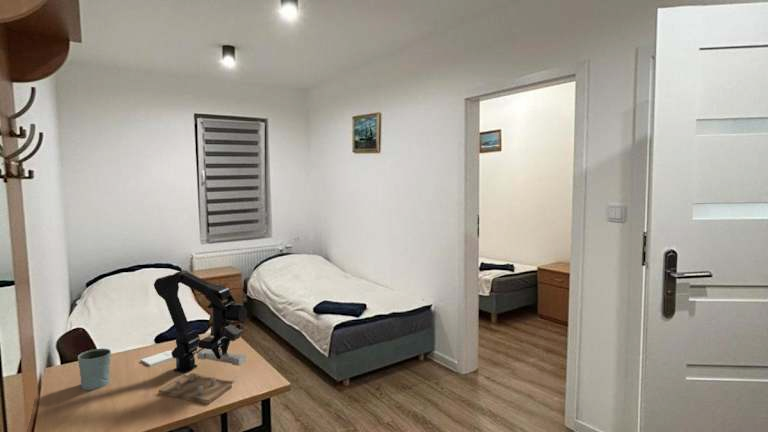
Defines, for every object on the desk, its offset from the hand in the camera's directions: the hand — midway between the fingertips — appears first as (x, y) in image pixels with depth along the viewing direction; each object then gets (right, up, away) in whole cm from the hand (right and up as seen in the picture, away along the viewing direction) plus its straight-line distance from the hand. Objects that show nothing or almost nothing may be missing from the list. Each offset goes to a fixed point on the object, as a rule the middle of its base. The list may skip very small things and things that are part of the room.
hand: (221, 357), depth 165 cm
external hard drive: (-32, -6, +14) cm, 35 cm away
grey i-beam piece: (0, -1, 0) cm, 1 cm away
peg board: (-4, -8, -13) cm, 16 cm away
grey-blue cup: (-44, -8, -8) cm, 46 cm away
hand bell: (-15, -5, +27) cm, 31 cm away
